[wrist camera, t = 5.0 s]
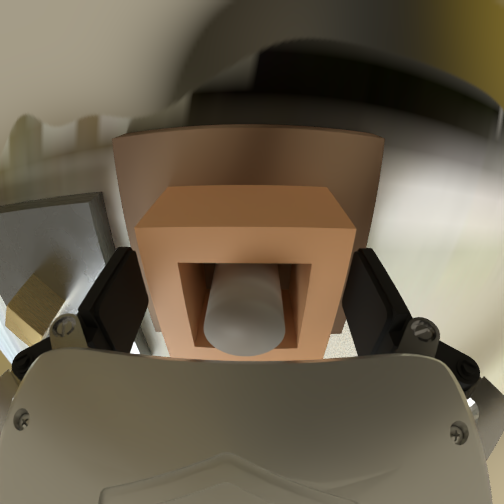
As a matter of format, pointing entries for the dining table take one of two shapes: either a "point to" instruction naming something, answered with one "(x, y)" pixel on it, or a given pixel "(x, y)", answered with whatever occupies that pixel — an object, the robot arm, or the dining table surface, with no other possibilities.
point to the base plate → (52, 261)
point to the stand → (249, 173)
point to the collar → (246, 260)
